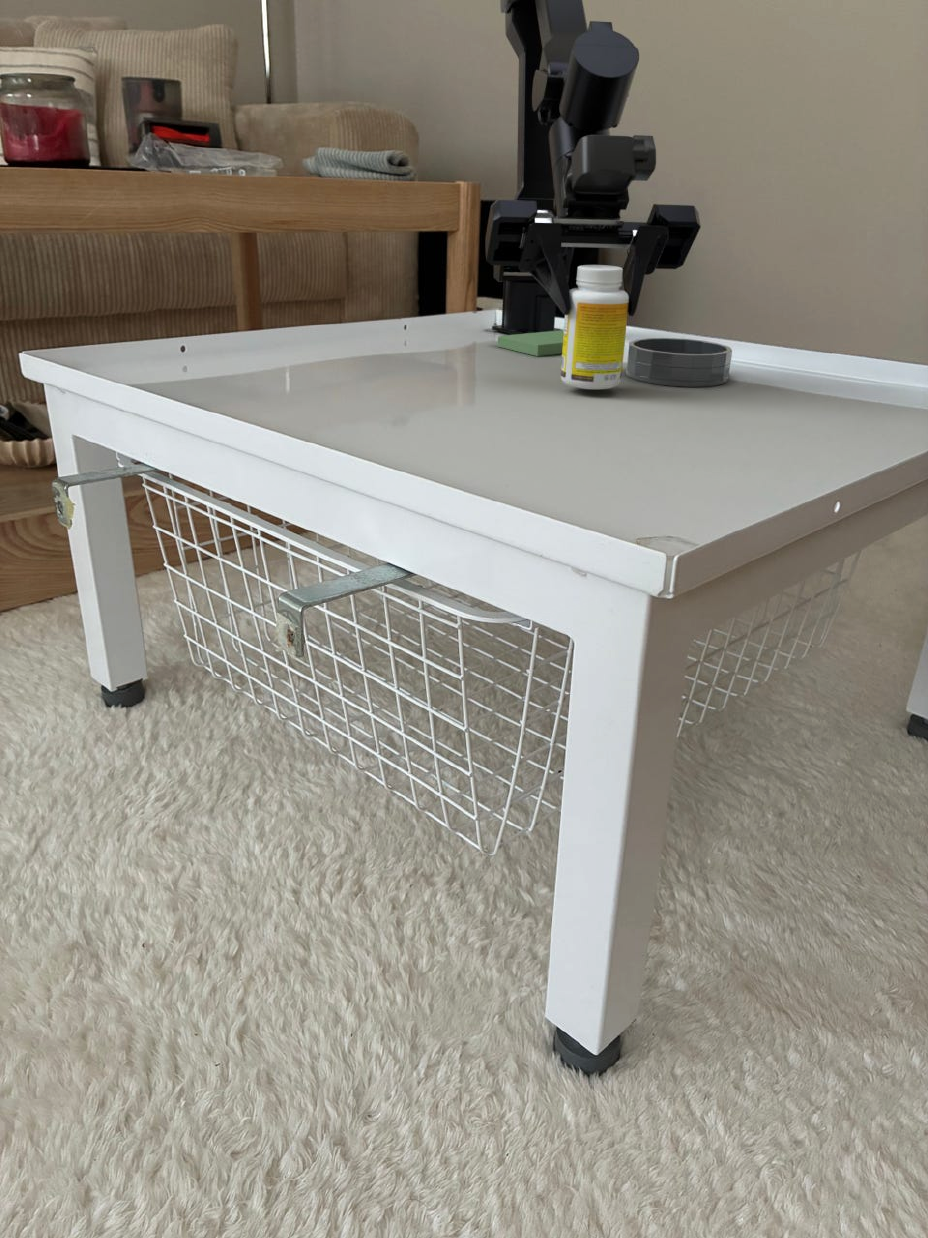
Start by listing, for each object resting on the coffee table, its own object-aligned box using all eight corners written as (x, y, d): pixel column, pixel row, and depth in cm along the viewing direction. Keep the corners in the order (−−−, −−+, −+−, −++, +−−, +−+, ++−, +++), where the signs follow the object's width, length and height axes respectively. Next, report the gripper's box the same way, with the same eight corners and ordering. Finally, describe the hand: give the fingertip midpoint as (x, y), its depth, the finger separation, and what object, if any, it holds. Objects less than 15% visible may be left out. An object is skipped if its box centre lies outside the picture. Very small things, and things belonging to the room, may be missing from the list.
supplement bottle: (632, 388, 87) (645, 269, 82) (583, 393, 84) (593, 270, 80) (596, 376, 91) (606, 262, 86) (548, 380, 88) (556, 264, 84)
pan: (605, 372, 96) (608, 342, 95) (671, 364, 102) (675, 335, 101) (681, 390, 89) (685, 358, 88) (747, 380, 95) (752, 349, 93)
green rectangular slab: (497, 346, 109) (497, 335, 108) (561, 340, 114) (562, 329, 114) (537, 356, 104) (538, 344, 103) (602, 349, 109) (603, 338, 109)
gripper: (495, 94, 80) (507, 246, 75) (709, 103, 82) (735, 251, 77) (480, 193, 90) (490, 332, 85) (670, 199, 92) (691, 335, 87)
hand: (599, 312), depth 83 cm, fingers closed on supplement bottle, 5 cm apart
